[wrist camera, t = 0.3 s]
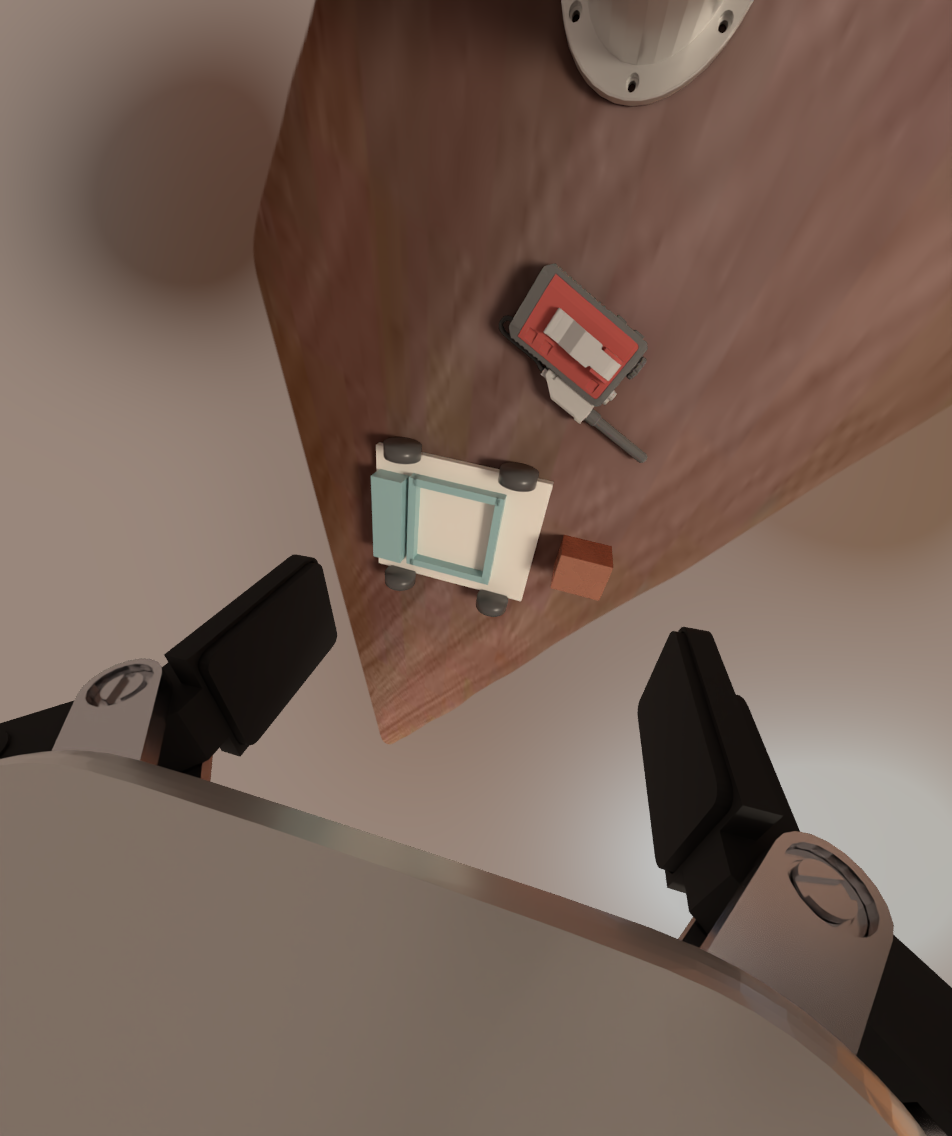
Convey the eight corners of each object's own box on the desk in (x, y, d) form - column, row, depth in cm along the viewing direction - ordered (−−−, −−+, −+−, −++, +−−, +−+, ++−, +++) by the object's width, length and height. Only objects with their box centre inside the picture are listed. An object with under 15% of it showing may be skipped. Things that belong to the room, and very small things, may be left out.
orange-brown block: (563, 534, 47) (561, 554, 43) (611, 546, 47) (613, 568, 43) (553, 565, 50) (550, 587, 46) (598, 577, 50) (598, 600, 46)
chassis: (379, 431, 46) (361, 441, 42) (556, 471, 43) (553, 485, 40) (381, 566, 58) (368, 582, 55) (520, 603, 55) (515, 623, 52)
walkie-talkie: (488, 345, 38) (636, 464, 41) (478, 349, 35) (640, 478, 37) (543, 250, 33) (707, 393, 36) (537, 242, 30) (720, 402, 32)
